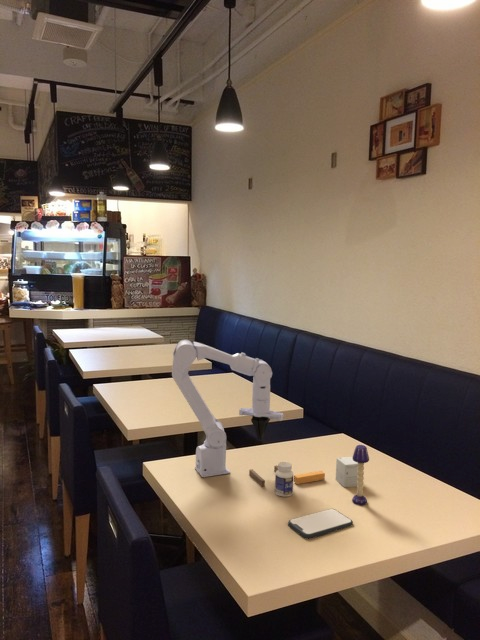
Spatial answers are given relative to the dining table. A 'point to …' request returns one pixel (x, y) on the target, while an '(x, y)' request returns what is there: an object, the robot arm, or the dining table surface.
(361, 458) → the toy lamp
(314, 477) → the orange rectangular block
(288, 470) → the pill bottle
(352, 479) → the product box
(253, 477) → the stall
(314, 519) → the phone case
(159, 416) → the dining table surface
